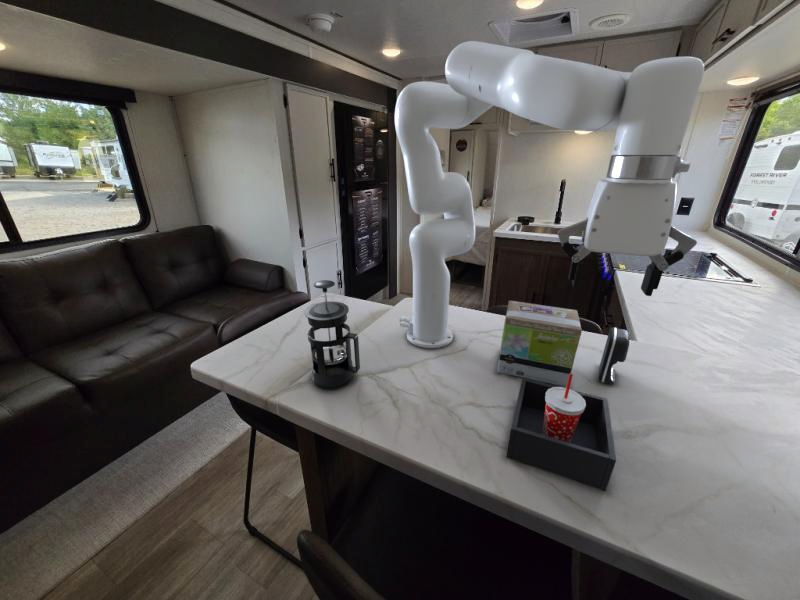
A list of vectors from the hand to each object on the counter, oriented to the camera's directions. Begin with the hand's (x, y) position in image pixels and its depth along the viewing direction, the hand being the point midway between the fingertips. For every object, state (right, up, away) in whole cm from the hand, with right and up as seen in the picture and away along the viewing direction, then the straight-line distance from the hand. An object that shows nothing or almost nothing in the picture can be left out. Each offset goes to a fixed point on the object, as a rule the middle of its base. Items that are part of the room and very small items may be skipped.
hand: (609, 288), depth 53 cm
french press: (-47, -20, +25) cm, 57 cm away
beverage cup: (-5, -27, +7) cm, 28 cm away
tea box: (-2, -18, +27) cm, 33 cm away
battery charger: (+15, -19, +24) cm, 34 cm away
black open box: (-5, -27, +7) cm, 28 cm away
